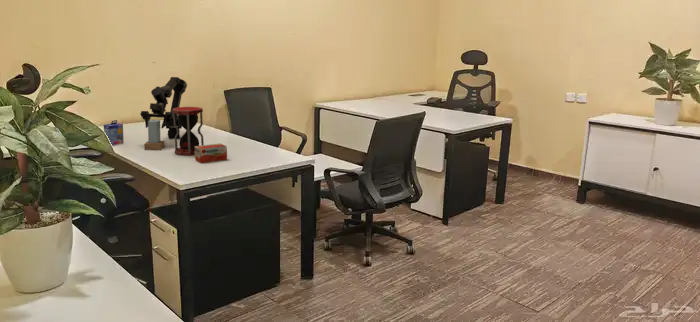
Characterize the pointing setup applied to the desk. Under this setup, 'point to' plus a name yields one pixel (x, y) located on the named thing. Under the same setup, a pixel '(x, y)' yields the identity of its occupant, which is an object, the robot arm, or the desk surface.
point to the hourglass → (187, 129)
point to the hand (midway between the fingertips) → (154, 127)
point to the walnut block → (154, 146)
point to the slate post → (154, 131)
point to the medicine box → (210, 153)
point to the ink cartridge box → (114, 132)
